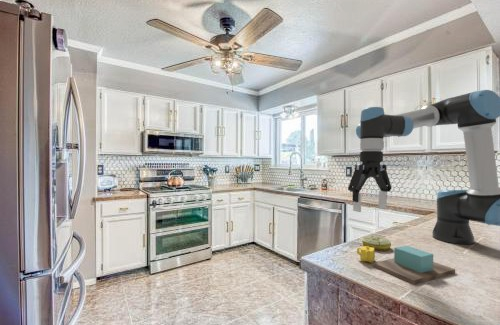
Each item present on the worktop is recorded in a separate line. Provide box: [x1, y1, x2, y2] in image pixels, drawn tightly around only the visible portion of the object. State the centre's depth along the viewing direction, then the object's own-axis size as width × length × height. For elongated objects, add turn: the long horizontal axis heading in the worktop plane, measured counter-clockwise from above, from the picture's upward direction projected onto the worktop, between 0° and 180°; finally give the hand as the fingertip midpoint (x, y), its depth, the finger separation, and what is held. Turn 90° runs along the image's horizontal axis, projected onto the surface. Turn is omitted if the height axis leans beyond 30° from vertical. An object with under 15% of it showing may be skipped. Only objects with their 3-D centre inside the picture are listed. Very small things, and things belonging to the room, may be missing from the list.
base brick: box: [393, 245, 434, 273], centre depth 84 cm, size 6×9×5 cm, turn 23°
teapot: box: [356, 245, 376, 264], centre depth 91 cm, size 8×6×5 cm
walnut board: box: [372, 257, 456, 285], centre depth 84 cm, size 20×14×1 cm
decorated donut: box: [361, 235, 392, 252], centre depth 106 cm, size 10×11×4 cm
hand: (370, 210), depth 90 cm, fingers open, 13 cm apart
